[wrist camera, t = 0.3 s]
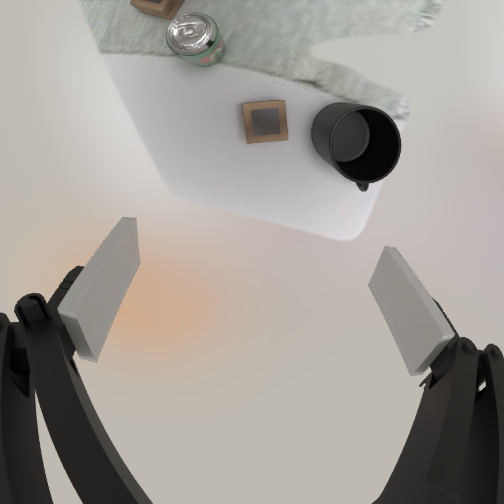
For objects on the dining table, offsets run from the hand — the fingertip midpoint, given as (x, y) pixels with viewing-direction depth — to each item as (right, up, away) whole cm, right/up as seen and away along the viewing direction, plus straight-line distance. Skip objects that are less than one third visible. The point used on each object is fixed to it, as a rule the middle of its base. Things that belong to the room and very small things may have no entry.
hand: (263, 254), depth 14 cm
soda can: (-7, +27, +15) cm, 31 cm away
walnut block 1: (-12, +34, +10) cm, 38 cm away
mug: (+13, +16, +22) cm, 30 cm away
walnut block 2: (+1, +18, +21) cm, 27 cm away
